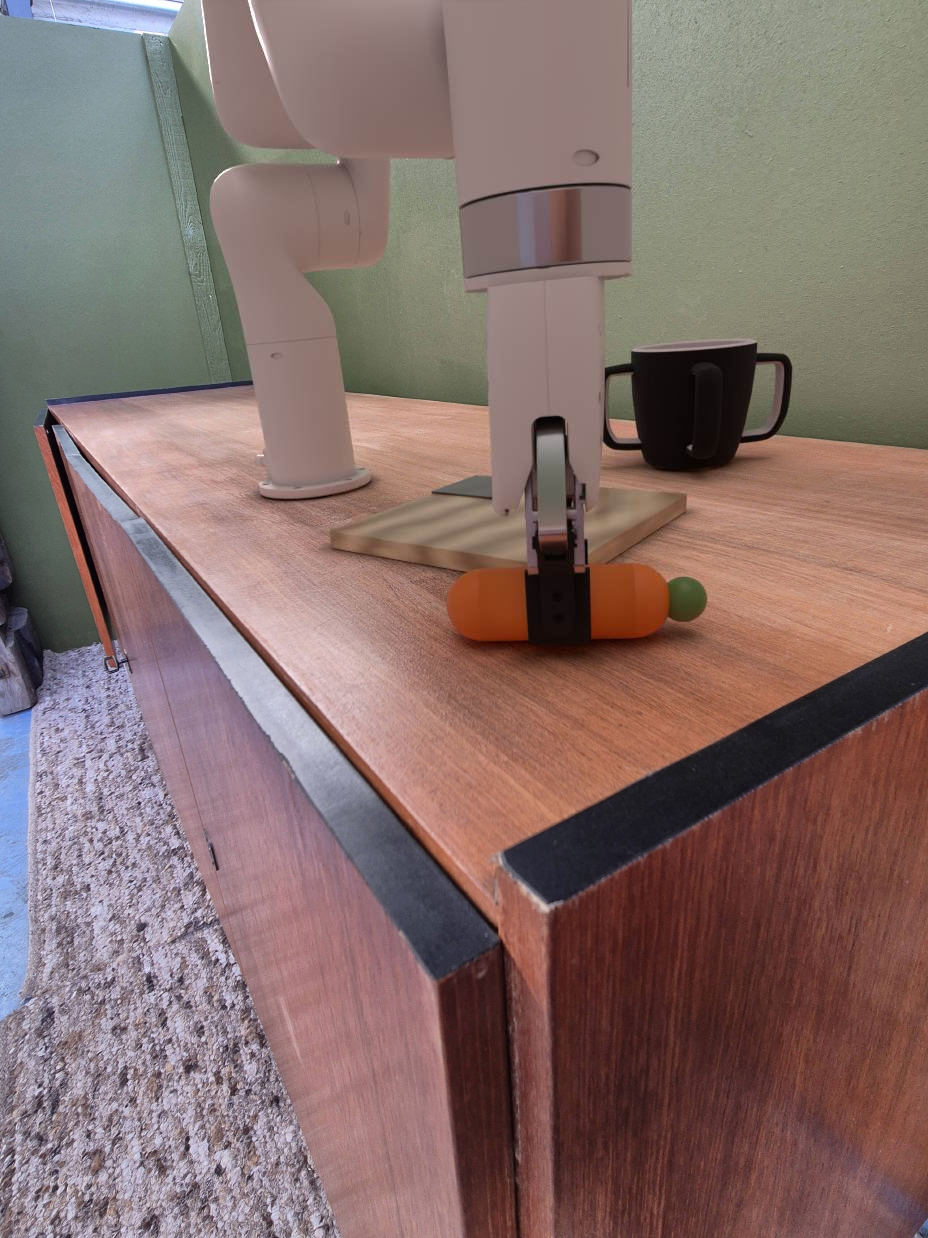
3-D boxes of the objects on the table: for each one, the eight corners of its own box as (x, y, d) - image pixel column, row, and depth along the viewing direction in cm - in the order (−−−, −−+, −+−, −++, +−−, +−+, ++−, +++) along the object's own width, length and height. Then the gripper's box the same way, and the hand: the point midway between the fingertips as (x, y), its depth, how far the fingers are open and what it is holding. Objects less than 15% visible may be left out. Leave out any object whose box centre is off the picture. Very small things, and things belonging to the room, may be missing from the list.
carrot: (448, 657, 39) (437, 601, 37) (455, 609, 42) (446, 555, 40) (709, 652, 37) (717, 593, 34) (697, 603, 40) (704, 545, 37)
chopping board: (331, 548, 58) (328, 528, 58) (476, 491, 73) (475, 475, 72) (565, 590, 45) (564, 564, 45) (686, 511, 60) (687, 491, 59)
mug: (682, 443, 87) (686, 338, 82) (803, 458, 74) (815, 334, 69) (580, 467, 79) (578, 352, 74) (694, 488, 66) (700, 351, 62)
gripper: (483, 268, 40) (504, 575, 47) (430, 242, 25) (474, 702, 32) (619, 254, 39) (620, 571, 46) (651, 217, 24) (646, 700, 31)
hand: (560, 621), depth 39 cm, fingers closed on carrot, 4 cm apart
